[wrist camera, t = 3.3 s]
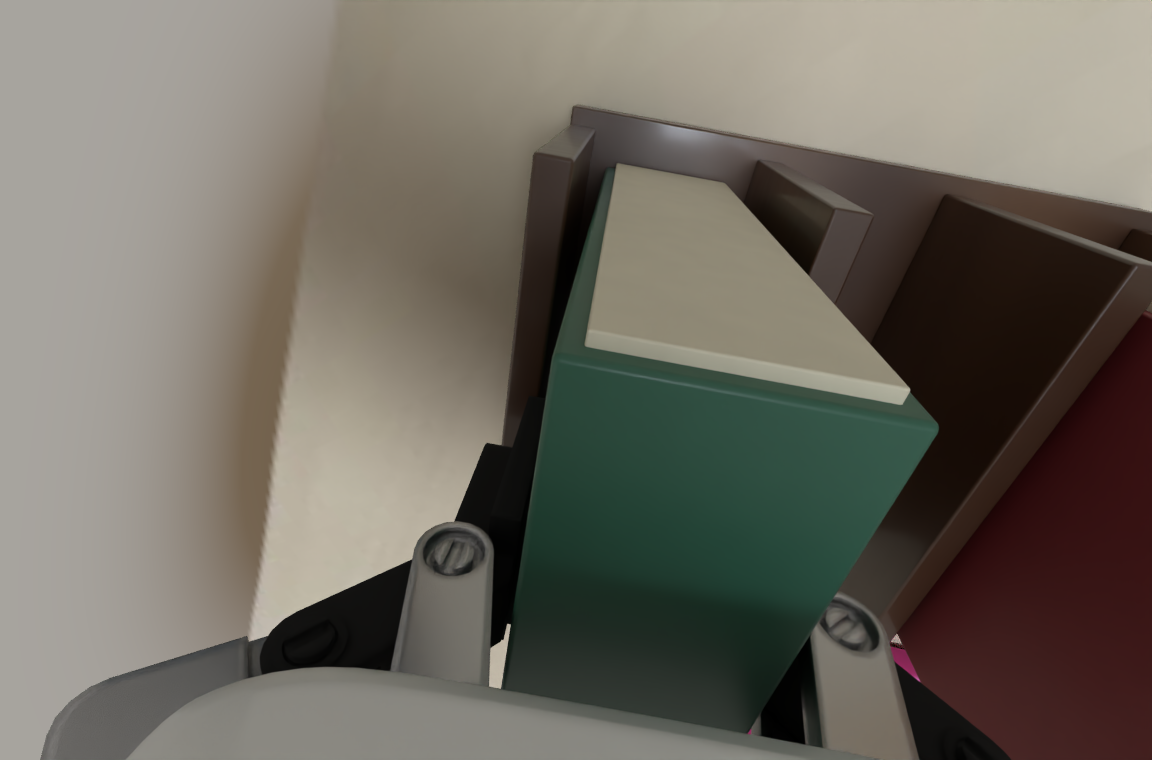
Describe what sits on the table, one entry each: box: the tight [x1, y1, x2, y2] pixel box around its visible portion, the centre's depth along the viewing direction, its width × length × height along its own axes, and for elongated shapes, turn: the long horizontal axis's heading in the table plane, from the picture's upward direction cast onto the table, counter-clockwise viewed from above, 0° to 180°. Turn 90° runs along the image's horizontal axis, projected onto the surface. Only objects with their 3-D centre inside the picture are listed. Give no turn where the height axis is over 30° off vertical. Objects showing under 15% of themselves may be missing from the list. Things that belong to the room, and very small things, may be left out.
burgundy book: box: [897, 302, 1152, 760], centre depth 14 cm, size 4×11×13 cm, turn 171°
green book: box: [501, 163, 939, 734], centre depth 14 cm, size 4×11×13 cm, turn 171°
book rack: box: [502, 105, 1152, 643], centre depth 17 cm, size 18×14×8 cm
